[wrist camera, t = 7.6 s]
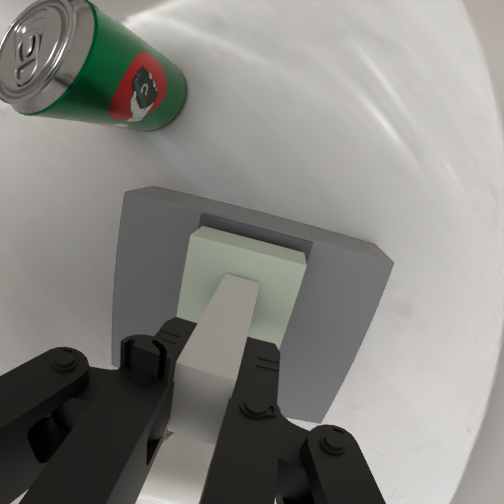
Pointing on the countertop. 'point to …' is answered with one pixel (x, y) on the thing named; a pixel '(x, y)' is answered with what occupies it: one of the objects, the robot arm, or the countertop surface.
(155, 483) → the white floating cup sculpture
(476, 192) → the countertop surface
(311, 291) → the button panel
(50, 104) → the soda can
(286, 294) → the sage key
